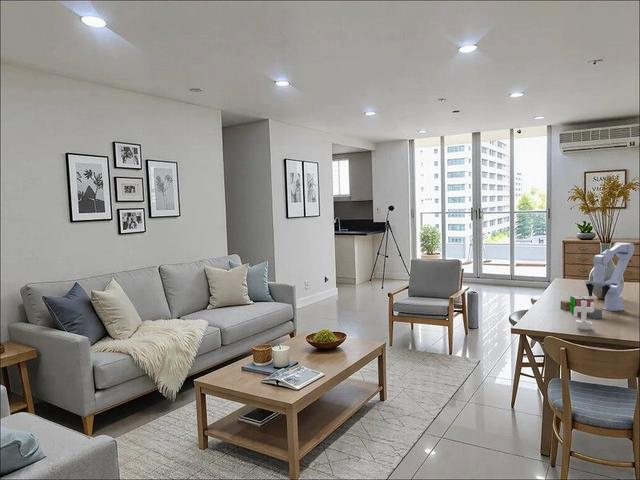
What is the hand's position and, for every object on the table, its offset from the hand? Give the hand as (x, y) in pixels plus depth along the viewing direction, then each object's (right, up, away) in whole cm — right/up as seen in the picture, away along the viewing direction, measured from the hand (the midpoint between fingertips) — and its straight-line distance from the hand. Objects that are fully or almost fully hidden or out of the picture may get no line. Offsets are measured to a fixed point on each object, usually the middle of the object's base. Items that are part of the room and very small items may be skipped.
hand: (596, 297), depth 285 cm
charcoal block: (-8, -11, -11) cm, 17 cm away
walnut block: (-12, -9, +12) cm, 19 cm away
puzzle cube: (-10, -10, 0) cm, 14 cm away
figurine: (-27, -13, -34) cm, 46 cm away
